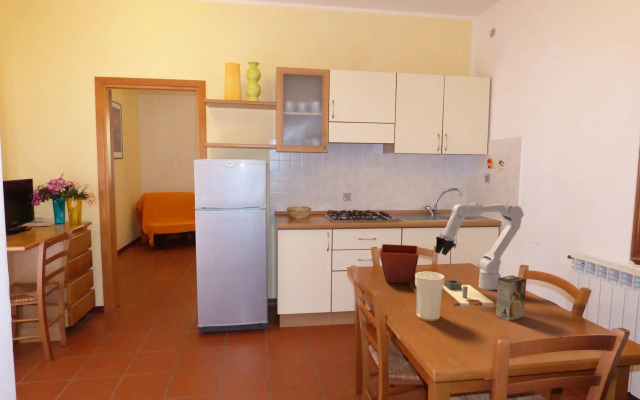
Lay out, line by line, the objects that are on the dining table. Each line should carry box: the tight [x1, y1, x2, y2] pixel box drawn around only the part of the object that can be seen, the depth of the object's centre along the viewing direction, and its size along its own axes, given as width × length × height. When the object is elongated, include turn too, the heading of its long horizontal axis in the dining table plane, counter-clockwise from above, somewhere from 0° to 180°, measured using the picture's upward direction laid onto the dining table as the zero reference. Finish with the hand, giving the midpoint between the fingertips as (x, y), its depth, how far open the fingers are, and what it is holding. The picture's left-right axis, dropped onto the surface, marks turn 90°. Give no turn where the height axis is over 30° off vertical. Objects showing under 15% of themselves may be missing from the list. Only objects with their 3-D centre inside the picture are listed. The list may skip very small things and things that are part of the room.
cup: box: [414, 270, 445, 322], centre depth 158 cm, size 11×11×17 cm
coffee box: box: [495, 275, 527, 322], centre depth 160 cm, size 9×6×16 cm
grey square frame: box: [444, 279, 463, 290], centre depth 190 cm, size 6×6×3 cm
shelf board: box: [442, 284, 495, 308], centre depth 182 cm, size 15×24×6 cm, turn 4°
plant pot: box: [379, 243, 420, 285], centre depth 206 cm, size 19×19×17 cm
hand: (440, 253), depth 188 cm, fingers open, 7 cm apart
